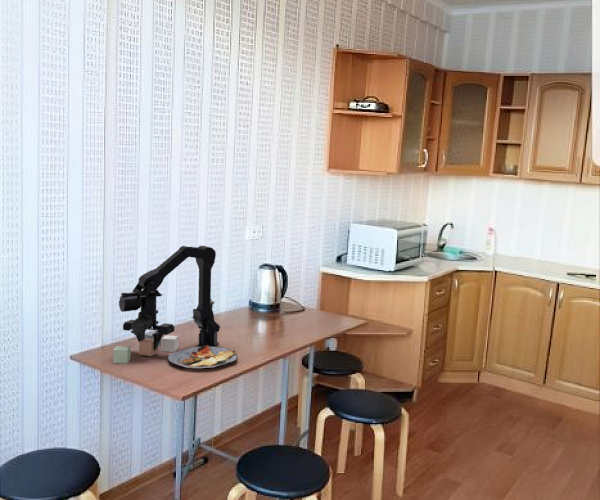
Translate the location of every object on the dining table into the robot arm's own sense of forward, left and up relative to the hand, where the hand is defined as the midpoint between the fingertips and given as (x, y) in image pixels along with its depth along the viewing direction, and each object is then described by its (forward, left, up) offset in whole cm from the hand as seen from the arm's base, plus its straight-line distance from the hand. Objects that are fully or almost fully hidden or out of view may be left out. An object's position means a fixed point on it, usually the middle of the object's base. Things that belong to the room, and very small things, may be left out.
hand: (148, 349), depth 232 cm
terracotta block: (0, 0, -2) cm, 2 cm away
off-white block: (-4, -9, -2) cm, 10 cm away
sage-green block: (+5, +10, -2) cm, 11 cm away
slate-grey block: (+5, -11, -2) cm, 12 cm away
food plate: (-22, -1, -3) cm, 22 cm away
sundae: (0, -50, -2) cm, 50 cm away
